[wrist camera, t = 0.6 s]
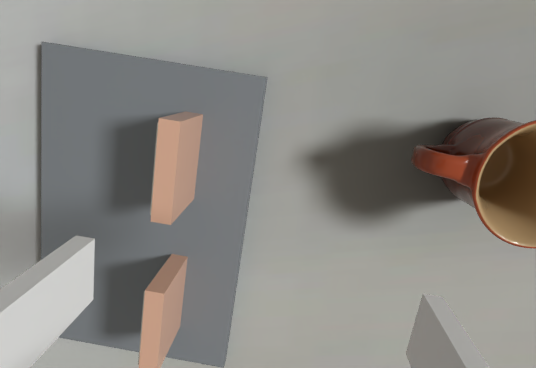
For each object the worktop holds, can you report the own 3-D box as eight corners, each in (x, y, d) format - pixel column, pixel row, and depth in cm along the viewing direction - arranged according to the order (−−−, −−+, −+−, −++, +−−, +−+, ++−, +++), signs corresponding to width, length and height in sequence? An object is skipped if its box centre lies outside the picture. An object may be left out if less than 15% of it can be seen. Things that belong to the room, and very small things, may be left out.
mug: (540, 118, 34) (641, 132, 24) (506, 211, 36) (586, 260, 26) (404, 92, 34) (448, 96, 24) (379, 187, 36) (410, 225, 27)
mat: (49, 42, 35) (41, 41, 34) (267, 77, 35) (266, 77, 34) (47, 327, 43) (41, 334, 42) (225, 359, 42) (223, 367, 41)
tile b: (169, 253, 38) (142, 289, 32) (187, 256, 38) (164, 293, 32) (163, 323, 40) (135, 371, 34) (180, 326, 40) (156, 375, 34)
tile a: (183, 110, 35) (155, 117, 28) (203, 114, 35) (180, 121, 28) (175, 195, 37) (147, 221, 30) (193, 199, 37) (170, 225, 30)
